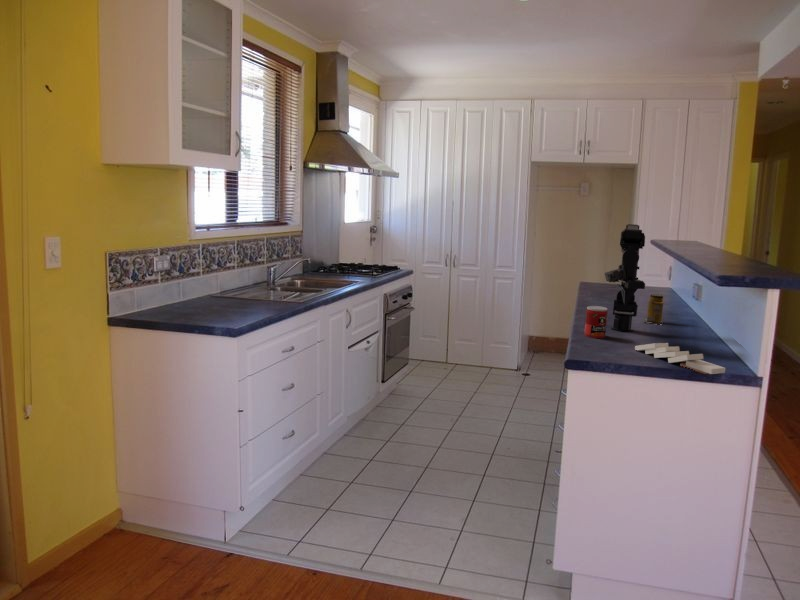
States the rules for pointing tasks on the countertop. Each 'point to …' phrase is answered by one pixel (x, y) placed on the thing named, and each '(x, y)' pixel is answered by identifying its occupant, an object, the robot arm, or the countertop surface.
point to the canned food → (596, 321)
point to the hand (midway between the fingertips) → (625, 304)
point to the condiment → (655, 308)
